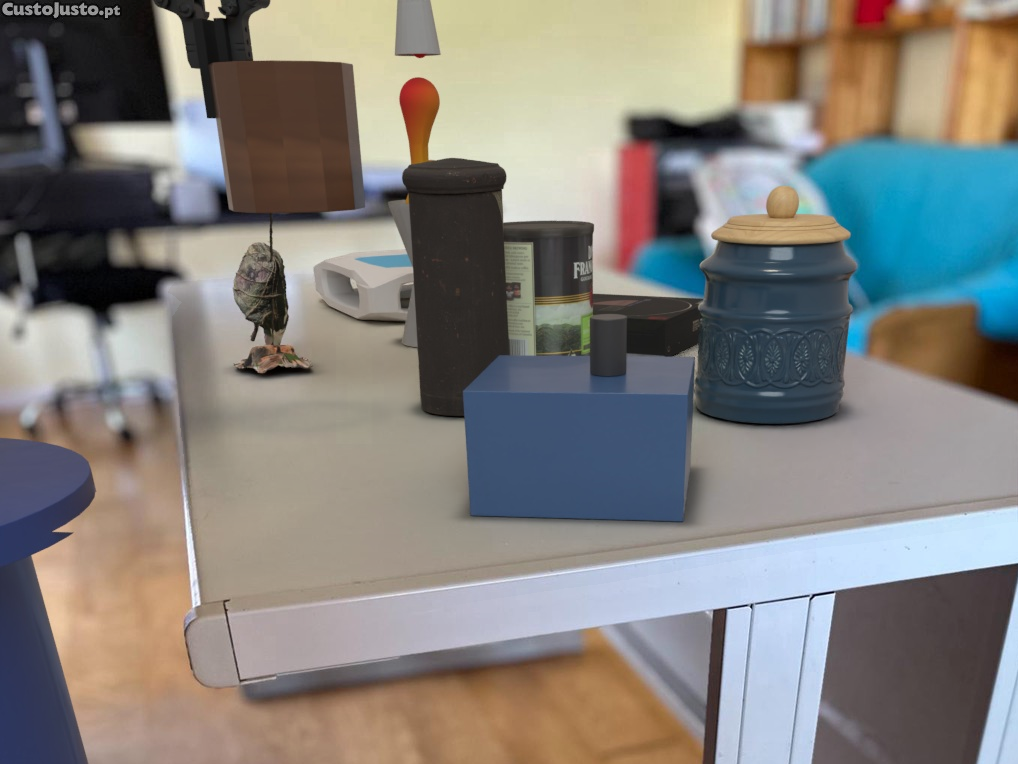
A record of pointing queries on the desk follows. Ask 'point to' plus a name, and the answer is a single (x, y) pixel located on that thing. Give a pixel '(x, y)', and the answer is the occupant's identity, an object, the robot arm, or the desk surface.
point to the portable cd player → (654, 322)
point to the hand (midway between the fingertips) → (228, 117)
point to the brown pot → (288, 135)
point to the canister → (774, 316)
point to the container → (457, 275)
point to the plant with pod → (265, 306)
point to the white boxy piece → (367, 284)
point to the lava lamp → (415, 116)
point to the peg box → (581, 433)
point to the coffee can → (549, 287)
